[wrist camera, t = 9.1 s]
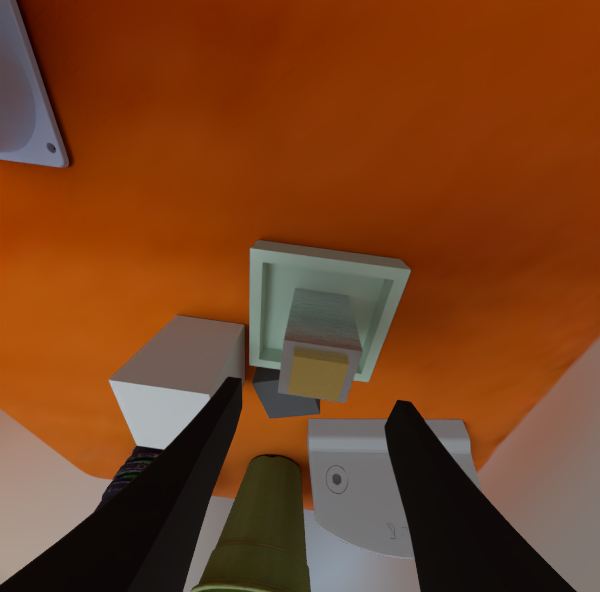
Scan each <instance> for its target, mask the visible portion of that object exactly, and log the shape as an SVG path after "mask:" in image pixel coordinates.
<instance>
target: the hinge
mask: <svg viewBox="0 0 600 592" xmlns="http://www.w3.org/2000/svg"><path fill="white" fill-rule="evenodd" d="M387 420H388V419H308V437H307V446H308V456H309V466H310V476H311V486H312V496H313V506H314V515H315V519H316V521H317V524H318V525H319V527H320V528H321V529H323V530H324V531H325V532H327V533H329V534H330V535H332V536H334V537H336V538H338V539H339V540H341V541H343V542H345V543H347V544H350V545H352V546H354V547H357V548H360V549H362V550H365V551H368V552H371V553H375V554H379V555H384V556H389V557H395V558H403V559H415V557H414V552H413V547H412V542H411V537H410V532H409V528H408V524H407V519H406V515H405V512H404V508H403V504H402V501H401V497H400V494H399V490H398V486H397V483H396V479H395V475H394V472H393V468H392V464H391V461H390V457H389V453H388V448H387V442H386V436H385V429H384V426H385V424H386V422H387ZM424 420H425V422H426V423H427V424H428V426H429V427H430V428H431V430H432V431H433V432H434V434H435V435H436V436H437V438H438V439H439V440H440V442H441V443H442V444H443V445H444V447H445V448H446V449H447V451H448V452H449V453H450V454H451V456H452V457H453V458H454V460H455V461H456V462H457V463H458V465H459V466H460V467H461V468H462V470H463V471H464V472H465V473H466V474H467V476H468V477H469V478H470V479H471V480H472V482H473V483H474V484H475V485H476V486H477V488H478V489H479V490H480V491H481V488H480V484H479V481H478V477H477V473H476V470H475V466H474V463H473V459H472V456H471V447H470V438H469V435H468V433H467V430H466V428H465V425H464V423H463V421H462V420H450V419H424ZM481 492H482V491H481Z"/></svg>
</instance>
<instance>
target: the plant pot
mask: <svg viewBox="0 0 600 592" xmlns="http://www.w3.org/2000/svg"><path fill="white" fill-rule="evenodd" d="M191 592H311V589H310V577H309V568H308V566H307V560H306V544H305V529H304V514H303V497H302V480H301V472H300V469H299V467H298V466H297V465H296V464H295V463H294V462H292V461H290V460H288V459H287V458H284V457H279V456H276V457H273V458H270V457H267V456H260V457H257V458H255V459H253V460H252V461H251V462H250V463H249V466H248V468H247V471H246V473H245V476H244V478H243V481H242V483H241V486H240V488H239V491H238V493H237V496H236V498H235V501H234V503H233V506H232V508H231V511H230V513H229V516H228V518H227V521H226V523H225V526H224V528H223V531H222V533H221V536H220V538H219V541H218V543H217V545H216V548H215V549H214V550H213V552H212V553H211V556H210V558H209V561H208V563H207V565H206V568H205V570H204V572H203V575H202V577H201V579H200V582H199V584H198V585H196V586H195V587H193V588H192V590H191Z"/></svg>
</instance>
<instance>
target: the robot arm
mask: <svg viewBox="0 0 600 592" xmlns="http://www.w3.org/2000/svg"><path fill="white" fill-rule="evenodd" d="M54 147H55V148H56V151H55V149H54ZM0 160H7V161H15V162H23V163H30V164H38V165H45V166H53V167H63V168H64V167H67V166H68V165H69V159H68V156H67V153H66V150H65V147H64V144H63V141H62V138H61V135H60V132H59V129H58V126H57V123H56V120H55V117H54V114H53V111H52V108H51V105H50V102H49V99H48V96H47V93H46V90H45V87H44V84H43V81H42V78H41V75H40V72H39V68H38V65H37V62H36V59H35V56H34V53H33V50H32V47H31V44H30V41H29V38H28V35H27V32H26V29H25V26H24V23H23V20H22V17H21V14H20V11H19V8H18V5H17V2H16V0H0ZM241 410H242V378H236V377H227V378H226V379H225V381H224V382H223V383H222V385H221V386H220V387H219V389H218V390H217V391H216V392H215V394H214V395H213V396H212V397H211V399H210V400H209V401H208V402H207V403H206V405H205V406H204V407H203V408H202V409H201V410H200V412H199V413H198V414H197V415H196V416H195V417H194V418H193V420H192V421H191V422H190V423H189V424H188V425H187V426H186V427H185V428H184V429H183V430H182V431H181V433H180V434H179V435H178V436H177V437H176V438H175V439H174V440H173V441H172V442H171V443H170V444H169V445H168V446H167V447H166V448H165V449H164V450H163V451H162V452H161V453H160V454H159V455H158V456H157V457H156V458H155V459H154V460H153V461H152V462H151V463H150V464H149V465H147V466H146V467H145V468H144V469H143V470H142V471H141V472H140V473H139V474H138V475H137V476H135V477H134V478H133V479H132V480H131V481H130V482H129V483H128V484H127V485H125V486H124V487H123V488H122V489H121V490H120V491H119V492H117V493H116V494H115V495H114V496H113V497H112V498H111V499H109V500H108V501H107V502H106V503H105V504H103V505H102V506H101V507H100V508H99V509H97V510H96V511H95V512H94V513H92V514H91V515H90V516H89V517H87V518H86V519H85V520H84V521H83V522H82V523H80V524H79V525H78V526H76V527H75V528H74V529H73V530H72V531H70V532H69V533H68V534H67V535H65V536H64V537H63V538H62V539H60V540H59V541H58V542H56V543H55V544H54V545H53V546H51V547H50V548H49V549H47V550H46V551H45V552H43V553H42V554H41V555H40V556H38V557H37V558H35V559H34V560H33V561H31V562H30V563H29V564H27V565H26V566H25V567H23V568H22V569H21V570H19V571H18V572H17V573H16V574H14V575H13V576H12V577H10V578H9V579H8V580H6V581H5V582H4V583H2V584H1V585H0V592H183V589H184V585H185V582H186V578H187V575H188V571H189V568H190V564H191V561H192V557H193V554H194V551H195V547H196V544H197V540H198V537H199V533H200V530H201V527H202V523H203V520H204V517H205V513H206V510H207V507H208V504H209V501H210V498H211V495H212V492H213V489H214V486H215V484H216V481H217V478H218V476H219V473H220V471H221V468H222V465H223V463H224V460H225V458H226V455H227V452H228V450H229V447H230V444H231V442H232V439H233V436H234V434H235V431H236V428H237V424H238V421H239V417H240V413H241ZM384 429H385V436H386V442H387V448H388V453H389V457H390V461H391V464H392V468H393V472H394V475H395V479H396V483H397V486H398V490H399V494H400V497H401V501H402V504H403V508H404V512H405V515H406V519H407V524H408V528H409V532H410V537H411V542H412V547H413V552H414V557H415V562H416V568H417V573H418V579H419V585H420V590H421V592H576V591H575V590H574V589H573V588H572V587H571V586H570V585H569V584H568V583H567V582H566V581H565V580H564V579H563V578H562V577H561V576H560V575H559V574H558V573H557V572H556V571H555V570H554V569H553V568H552V567H551V566H550V565H549V564H548V563H547V562H546V561H545V560H544V559H543V558H542V557H541V556H540V555H539V554H538V553H537V552H536V551H535V550H534V549H533V548H532V547H531V546H530V545H529V544H528V543H527V541H526V540H525V539H524V538H523V537H522V536H521V535H520V534H519V533H518V532H517V531H516V530H515V529H514V528H513V527H512V526H511V525H510V523H509V522H508V521H507V520H506V519H505V518H504V517H503V516H502V515H501V514H500V512H499V511H498V510H497V509H496V508H495V507H494V506H493V505H492V504H491V503H490V501H489V500H488V499H487V498H486V497H485V496H484V495H483V494H482V492H481V491H480V490H479V489H478V488H477V486H476V485H475V484H474V483H473V482H472V480H471V479H470V478H469V477H468V476H467V474H466V473H465V472H464V471H463V470H462V468H461V467H460V466H459V465H458V463H457V462H456V461H455V460H454V458H453V457H452V456H451V454H450V453H449V452H448V451H447V449H446V448H445V447H444V445H443V444H442V443H441V442H440V440H439V439H438V438H437V436H436V435H435V434H434V432H433V431H432V430H431V428H430V427H429V426H428V424H427V423H426V422H425V420H424V419H423V418H422V416H421V415H420V413H419V412H418V411H417V409H416V408H415V407H414V405H413V404H412V403H411V402H409V401H402V400H397V402H396V404H395V406H394V408H393V410H392V412H391V414H390V416H389V418H388V420H387V422H386V424H385V426H384Z"/></svg>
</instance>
